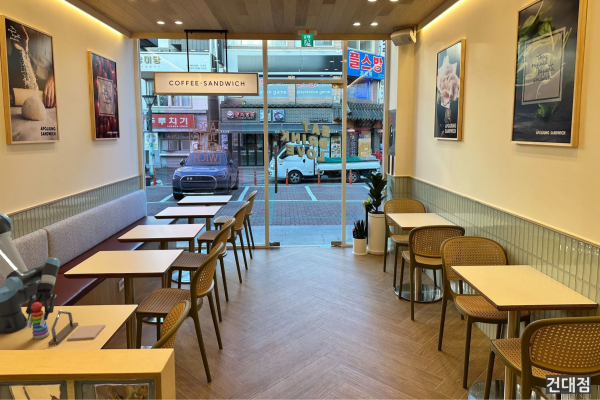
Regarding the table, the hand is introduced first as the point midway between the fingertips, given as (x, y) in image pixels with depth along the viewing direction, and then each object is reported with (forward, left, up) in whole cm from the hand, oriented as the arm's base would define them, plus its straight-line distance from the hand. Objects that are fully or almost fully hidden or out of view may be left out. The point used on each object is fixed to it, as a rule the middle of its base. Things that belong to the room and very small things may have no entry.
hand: (35, 326), depth 241 cm
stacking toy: (-2, +3, -8) cm, 8 cm away
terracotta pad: (+19, +14, -7) cm, 25 cm away
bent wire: (+9, +9, -7) cm, 14 cm away
